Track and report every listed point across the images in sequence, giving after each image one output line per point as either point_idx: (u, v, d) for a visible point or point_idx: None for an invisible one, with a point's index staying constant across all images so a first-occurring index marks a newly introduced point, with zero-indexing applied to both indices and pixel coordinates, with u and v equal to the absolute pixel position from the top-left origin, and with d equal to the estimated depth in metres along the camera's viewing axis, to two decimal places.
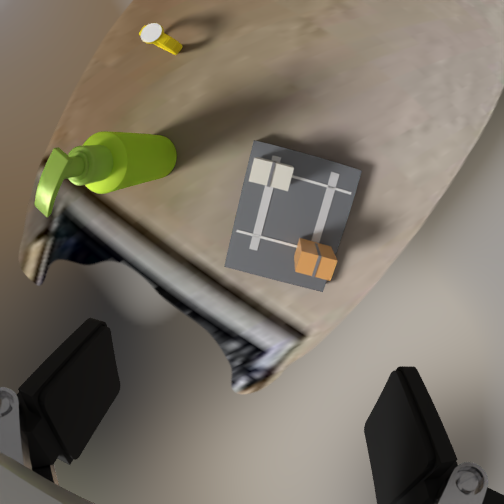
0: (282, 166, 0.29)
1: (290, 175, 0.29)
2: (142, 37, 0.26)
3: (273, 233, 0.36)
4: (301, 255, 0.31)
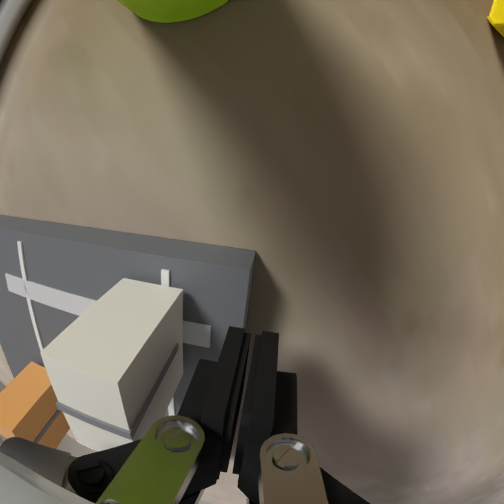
0: None
1: None
2: None
3: (44, 324, 0.12)
4: (6, 428, 0.08)
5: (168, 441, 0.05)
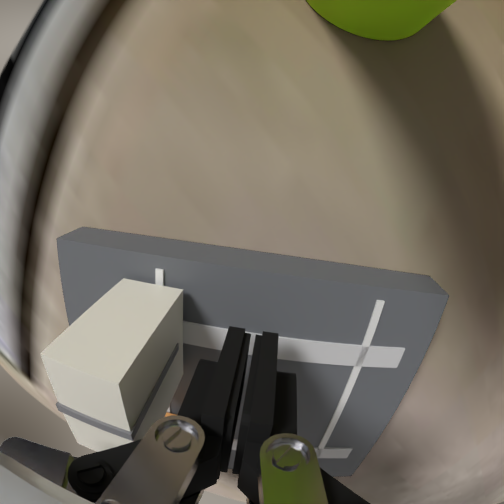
0: None
1: None
2: None
3: None
4: None
5: (168, 441, 0.05)
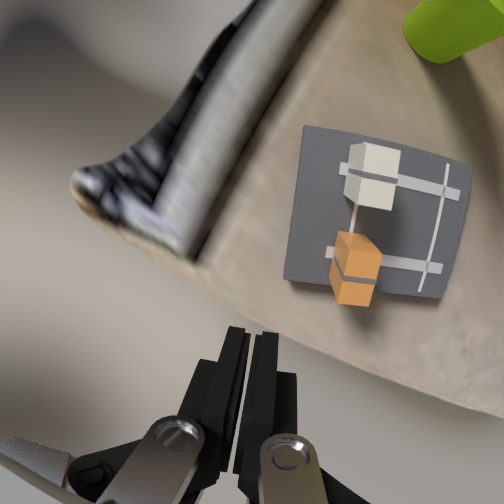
0: (392, 193, 0.18)
1: (380, 206, 0.18)
2: None
3: None
4: (375, 255, 0.19)
5: (168, 441, 0.05)
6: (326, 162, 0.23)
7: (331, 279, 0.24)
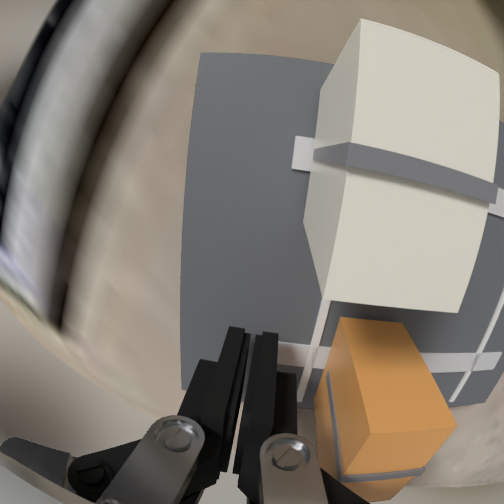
0: (472, 247, 0.04)
1: (422, 301, 0.04)
2: None
3: None
4: (440, 430, 0.05)
5: (168, 441, 0.05)
6: (256, 138, 0.09)
7: (317, 419, 0.10)
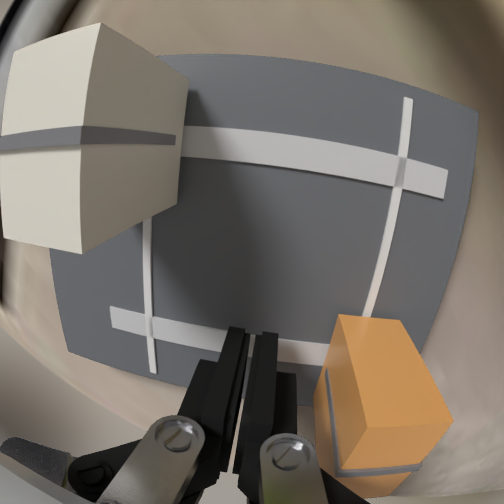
0: (73, 188, 0.04)
1: (49, 240, 0.05)
2: None
3: None
4: (436, 425, 0.05)
5: (168, 441, 0.05)
6: None
7: (316, 416, 0.10)
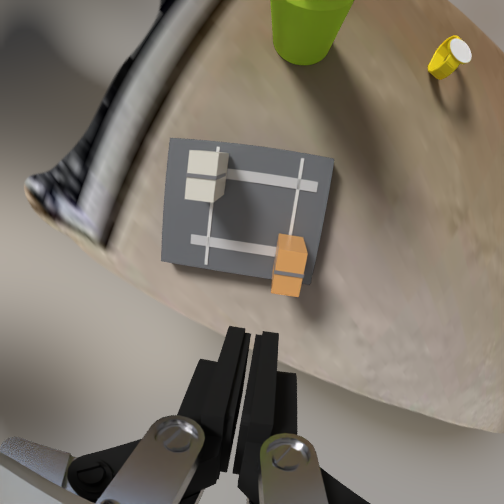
0: (212, 188, 0.23)
1: (203, 199, 0.24)
2: (455, 39, 0.18)
3: None
4: (301, 254, 0.24)
5: (168, 441, 0.05)
6: (186, 166, 0.28)
7: (272, 274, 0.29)
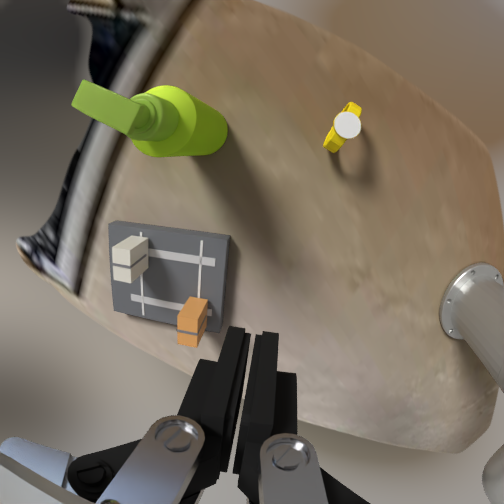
0: (129, 274, 0.32)
1: (125, 281, 0.32)
2: (341, 113, 0.26)
3: None
4: (193, 319, 0.33)
5: (168, 441, 0.05)
6: None
7: None
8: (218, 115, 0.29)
